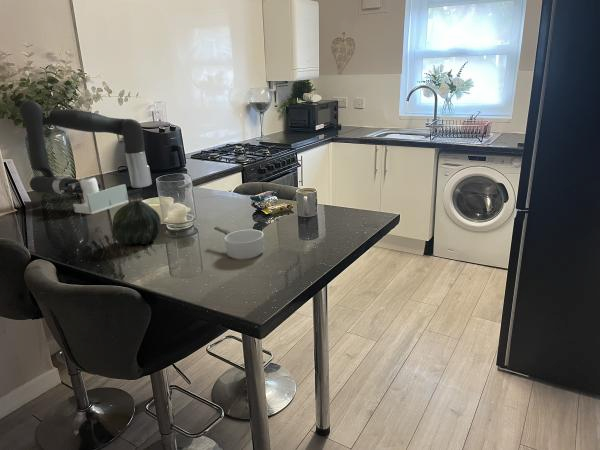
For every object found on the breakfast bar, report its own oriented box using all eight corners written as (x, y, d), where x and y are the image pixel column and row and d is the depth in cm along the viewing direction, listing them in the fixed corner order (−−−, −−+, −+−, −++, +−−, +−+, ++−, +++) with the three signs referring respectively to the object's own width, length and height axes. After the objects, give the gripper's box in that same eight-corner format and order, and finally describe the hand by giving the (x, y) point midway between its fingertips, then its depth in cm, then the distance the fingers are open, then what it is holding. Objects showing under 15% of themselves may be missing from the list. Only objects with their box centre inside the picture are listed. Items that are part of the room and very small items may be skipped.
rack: (112, 200, 206) (108, 183, 204) (128, 201, 201) (125, 184, 199) (74, 212, 191) (70, 193, 188) (91, 214, 185) (87, 195, 183)
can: (97, 206, 189) (90, 178, 186) (82, 208, 190) (75, 179, 187) (105, 203, 195) (98, 175, 192) (90, 204, 196) (84, 177, 193)
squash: (112, 221, 153) (106, 195, 141) (158, 216, 158) (156, 190, 146) (116, 258, 147) (110, 234, 134) (164, 251, 152) (163, 227, 139)
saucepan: (232, 238, 146) (230, 222, 144) (273, 252, 132) (272, 234, 130) (202, 249, 138) (199, 232, 136) (242, 265, 124) (239, 246, 122)
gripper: (48, 181, 189) (73, 183, 181) (79, 174, 201) (103, 175, 193) (53, 198, 192) (77, 201, 184) (82, 190, 203) (107, 193, 195)
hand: (91, 188), depth 188 cm, fingers open, 8 cm apart
